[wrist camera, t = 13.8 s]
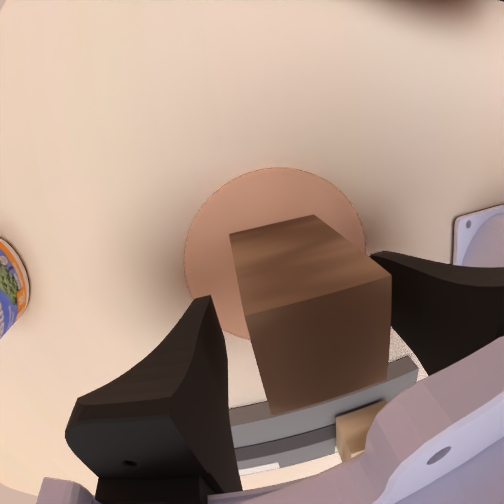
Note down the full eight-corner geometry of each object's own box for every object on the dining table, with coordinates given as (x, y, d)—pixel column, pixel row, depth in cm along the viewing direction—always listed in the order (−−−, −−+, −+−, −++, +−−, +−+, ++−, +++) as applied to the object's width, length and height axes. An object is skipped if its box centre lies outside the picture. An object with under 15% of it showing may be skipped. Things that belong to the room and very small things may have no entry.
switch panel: (408, 355, 19) (419, 369, 17) (398, 413, 21) (406, 426, 20) (155, 420, 18) (153, 437, 17) (189, 467, 21) (189, 482, 19)
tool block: (313, 214, 14) (391, 275, 8) (323, 289, 16) (386, 379, 9) (228, 233, 14) (244, 315, 8) (247, 308, 15) (271, 415, 9)
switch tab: (385, 399, 18) (405, 432, 15) (380, 430, 19) (396, 461, 16) (335, 417, 18) (351, 454, 15) (336, 446, 19) (349, 479, 16)
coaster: (351, 153, 14) (355, 153, 13) (365, 312, 17) (368, 316, 17) (162, 193, 13) (160, 194, 13) (212, 352, 17) (212, 357, 16)
